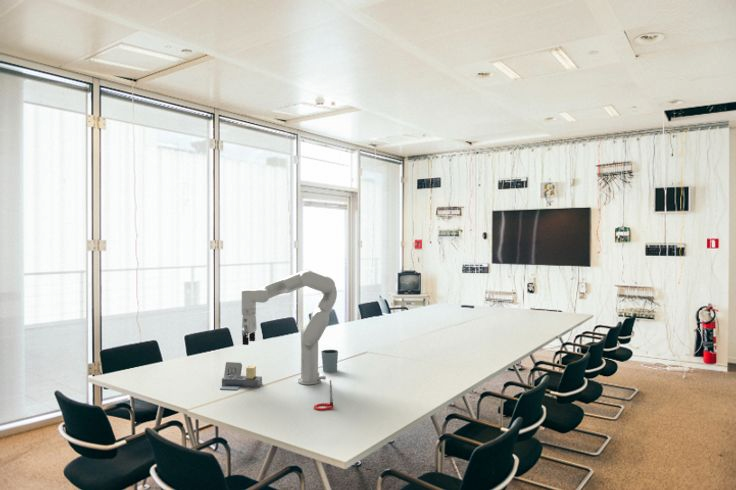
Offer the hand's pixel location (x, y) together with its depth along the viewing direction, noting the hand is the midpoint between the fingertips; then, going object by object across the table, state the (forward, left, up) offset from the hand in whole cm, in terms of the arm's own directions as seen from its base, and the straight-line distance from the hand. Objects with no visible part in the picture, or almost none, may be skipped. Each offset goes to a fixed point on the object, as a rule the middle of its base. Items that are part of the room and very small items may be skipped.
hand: (248, 342), depth 269 cm
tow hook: (-48, +32, -23) cm, 62 cm away
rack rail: (+3, +1, -23) cm, 23 cm away
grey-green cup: (-39, -33, -23) cm, 56 cm away
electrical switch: (+13, -11, -23) cm, 29 cm away
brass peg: (-2, +1, -23) cm, 23 cm away
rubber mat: (+7, +8, -23) cm, 25 cm away
